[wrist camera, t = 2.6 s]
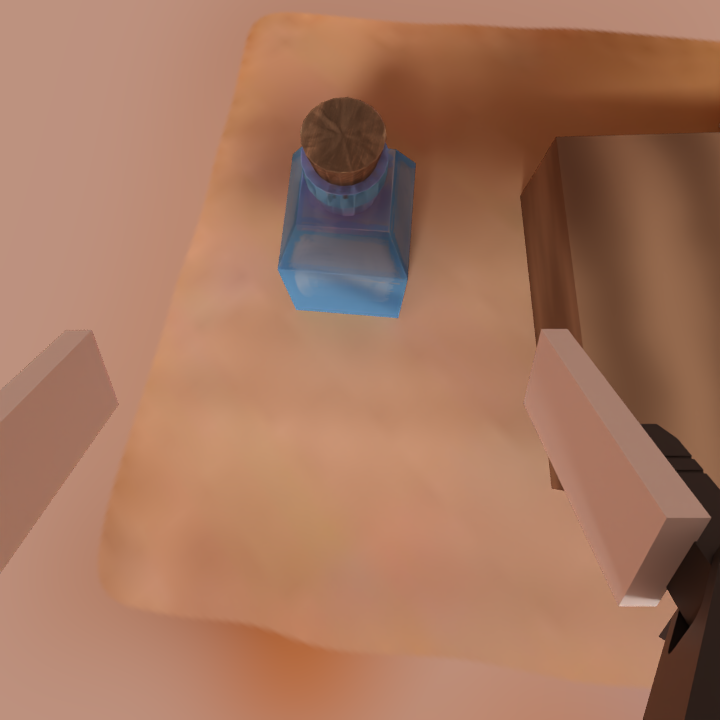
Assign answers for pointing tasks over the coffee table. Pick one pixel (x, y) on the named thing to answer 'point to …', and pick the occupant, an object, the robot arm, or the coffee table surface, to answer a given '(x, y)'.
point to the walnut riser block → (635, 272)
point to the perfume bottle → (347, 214)
